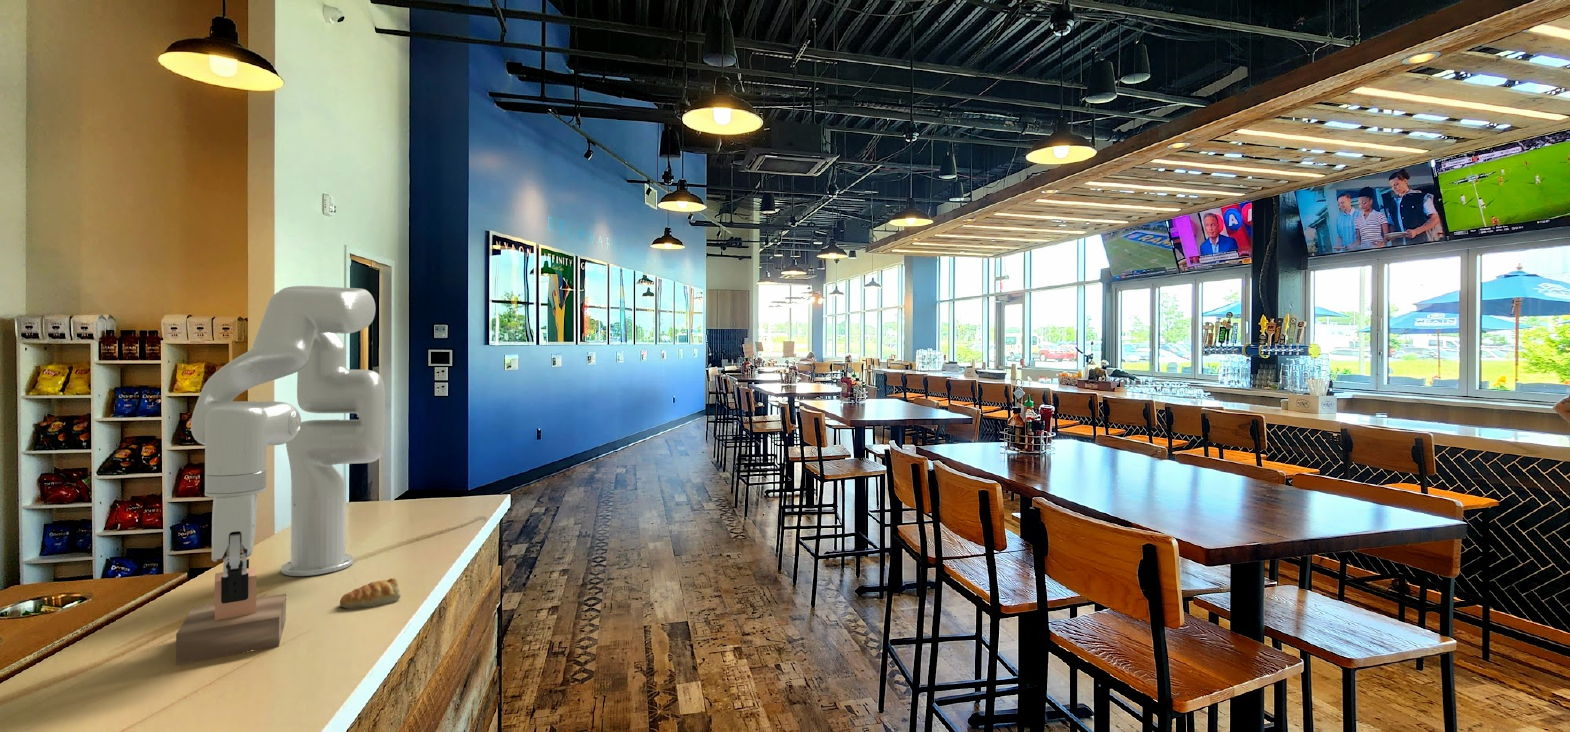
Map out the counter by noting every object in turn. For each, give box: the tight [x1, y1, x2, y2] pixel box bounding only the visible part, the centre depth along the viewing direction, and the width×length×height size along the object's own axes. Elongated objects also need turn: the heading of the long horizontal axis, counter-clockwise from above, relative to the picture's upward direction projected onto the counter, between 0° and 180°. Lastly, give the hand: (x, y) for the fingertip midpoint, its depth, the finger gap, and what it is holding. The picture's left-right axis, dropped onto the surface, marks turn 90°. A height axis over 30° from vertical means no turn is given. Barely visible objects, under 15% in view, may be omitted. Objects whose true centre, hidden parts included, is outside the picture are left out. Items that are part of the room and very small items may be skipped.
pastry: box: [339, 577, 402, 610], centre depth 122 cm, size 9×7×4 cm
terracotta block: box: [214, 567, 257, 620], centre depth 105 cm, size 5×5×6 cm
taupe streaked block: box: [175, 593, 287, 666], centre depth 105 cm, size 12×12×5 cm
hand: (235, 592), depth 105 cm, fingers open, 8 cm apart
